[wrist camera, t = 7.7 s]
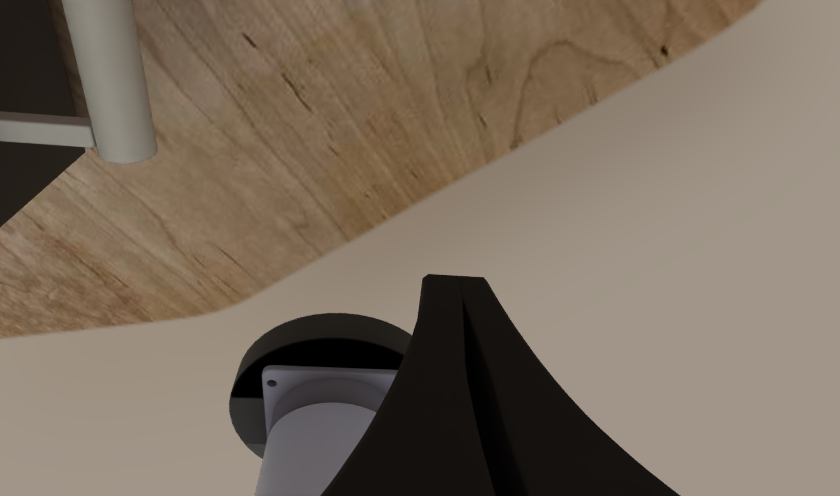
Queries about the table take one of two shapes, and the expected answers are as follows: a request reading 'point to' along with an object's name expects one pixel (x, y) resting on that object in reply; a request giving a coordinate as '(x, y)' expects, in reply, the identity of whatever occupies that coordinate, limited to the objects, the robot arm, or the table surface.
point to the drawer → (68, 94)
